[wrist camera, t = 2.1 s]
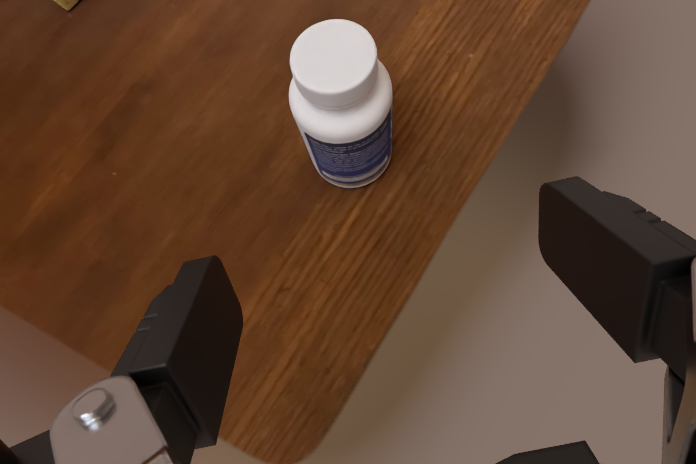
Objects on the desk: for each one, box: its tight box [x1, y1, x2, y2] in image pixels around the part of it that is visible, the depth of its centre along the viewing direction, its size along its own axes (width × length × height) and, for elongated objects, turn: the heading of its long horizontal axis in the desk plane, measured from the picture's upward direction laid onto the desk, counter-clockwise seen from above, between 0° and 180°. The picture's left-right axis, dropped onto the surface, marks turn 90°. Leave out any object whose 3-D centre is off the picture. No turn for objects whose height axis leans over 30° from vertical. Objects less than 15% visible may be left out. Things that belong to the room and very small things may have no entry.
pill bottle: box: [289, 19, 393, 188], centre depth 23 cm, size 5×5×10 cm
